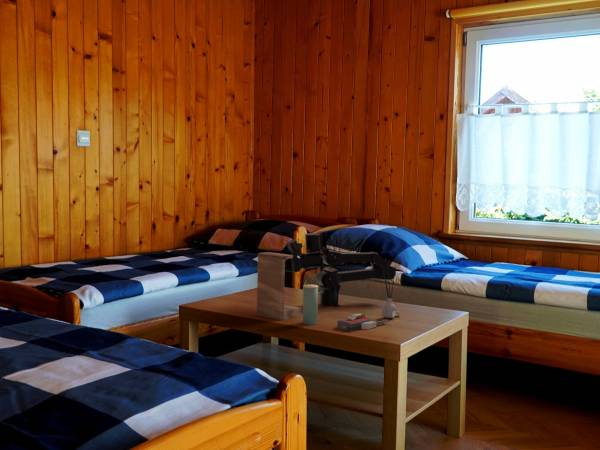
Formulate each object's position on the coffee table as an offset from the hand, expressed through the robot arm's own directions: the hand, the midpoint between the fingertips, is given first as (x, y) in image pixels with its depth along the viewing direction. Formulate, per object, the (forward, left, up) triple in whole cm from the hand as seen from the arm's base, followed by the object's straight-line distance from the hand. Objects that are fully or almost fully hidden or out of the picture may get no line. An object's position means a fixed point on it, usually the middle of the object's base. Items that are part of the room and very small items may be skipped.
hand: (268, 265), depth 245 cm
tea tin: (-9, +27, -16) cm, 33 cm away
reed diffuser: (-39, +24, -17) cm, 49 cm away
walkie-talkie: (-25, +35, -17) cm, 46 cm away
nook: (-1, +14, -16) cm, 21 cm away
